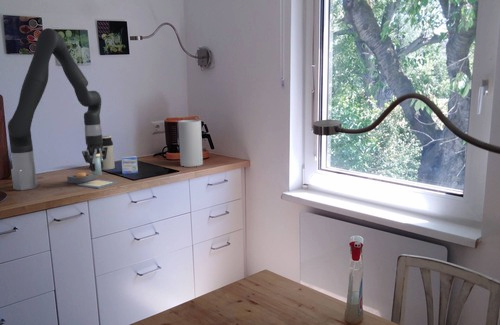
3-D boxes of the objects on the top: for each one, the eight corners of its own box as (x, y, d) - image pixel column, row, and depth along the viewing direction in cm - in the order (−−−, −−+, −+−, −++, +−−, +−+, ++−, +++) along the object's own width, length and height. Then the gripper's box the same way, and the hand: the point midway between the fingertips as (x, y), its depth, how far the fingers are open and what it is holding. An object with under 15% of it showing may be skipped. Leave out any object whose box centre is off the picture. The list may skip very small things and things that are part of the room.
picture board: (98, 188, 210) (98, 187, 210) (77, 185, 217) (77, 184, 216) (117, 183, 220) (117, 181, 220) (97, 180, 227) (97, 179, 227)
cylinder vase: (197, 167, 251) (195, 122, 247) (176, 166, 255) (174, 122, 251) (206, 163, 263) (204, 119, 258) (186, 162, 267) (184, 119, 262)
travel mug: (117, 167, 258) (115, 135, 254) (109, 170, 250) (106, 137, 247) (105, 167, 260) (102, 135, 256) (96, 170, 252) (94, 137, 249)
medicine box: (122, 174, 239) (121, 158, 238) (122, 172, 244) (121, 156, 242) (137, 173, 241) (136, 157, 240) (137, 171, 246) (136, 155, 244)
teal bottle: (97, 175, 215) (95, 154, 213) (90, 175, 217) (88, 154, 215) (103, 174, 218) (102, 153, 216) (97, 173, 220) (95, 152, 218)
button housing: (80, 184, 219) (79, 178, 219) (67, 182, 224) (67, 176, 223) (95, 180, 227) (94, 174, 226) (82, 178, 231) (82, 172, 231)
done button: (80, 179, 221) (80, 175, 221) (73, 178, 224) (73, 174, 224) (88, 176, 226) (88, 173, 225) (81, 176, 228) (81, 172, 228)
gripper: (87, 136, 206) (90, 173, 209) (110, 132, 218) (113, 167, 221) (75, 135, 210) (79, 172, 213) (99, 131, 222) (102, 166, 225)
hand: (97, 169), depth 217 cm, fingers closed on teal bottle, 4 cm apart
